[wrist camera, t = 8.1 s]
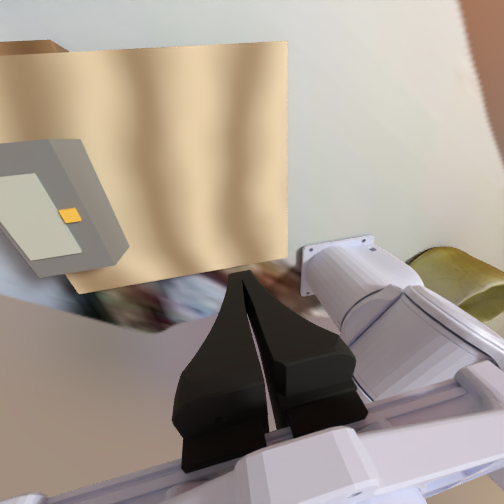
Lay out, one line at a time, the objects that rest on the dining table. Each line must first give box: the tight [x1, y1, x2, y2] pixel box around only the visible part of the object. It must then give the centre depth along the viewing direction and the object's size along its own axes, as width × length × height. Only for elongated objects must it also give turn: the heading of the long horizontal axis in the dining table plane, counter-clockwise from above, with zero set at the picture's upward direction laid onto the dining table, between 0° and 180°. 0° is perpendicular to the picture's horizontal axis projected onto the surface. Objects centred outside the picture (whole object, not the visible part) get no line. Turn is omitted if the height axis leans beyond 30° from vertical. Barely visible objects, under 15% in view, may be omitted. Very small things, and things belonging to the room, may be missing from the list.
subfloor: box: [0, 40, 288, 294], centre depth 17 cm, size 20×18×4 cm
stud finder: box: [0, 139, 130, 278], centre depth 13 cm, size 5×8×3 cm, turn 5°
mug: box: [409, 247, 504, 324], centre depth 27 cm, size 12×10×10 cm
